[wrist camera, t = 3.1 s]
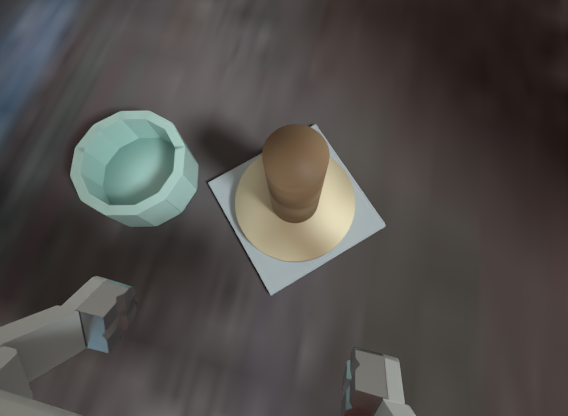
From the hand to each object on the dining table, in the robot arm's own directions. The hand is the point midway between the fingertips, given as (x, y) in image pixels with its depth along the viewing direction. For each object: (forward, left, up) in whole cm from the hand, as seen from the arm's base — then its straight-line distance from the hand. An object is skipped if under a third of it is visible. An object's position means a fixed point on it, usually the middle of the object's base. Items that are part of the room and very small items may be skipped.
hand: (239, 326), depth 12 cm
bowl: (+3, -14, -12) cm, 19 cm away
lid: (-6, -6, -12) cm, 15 cm away
